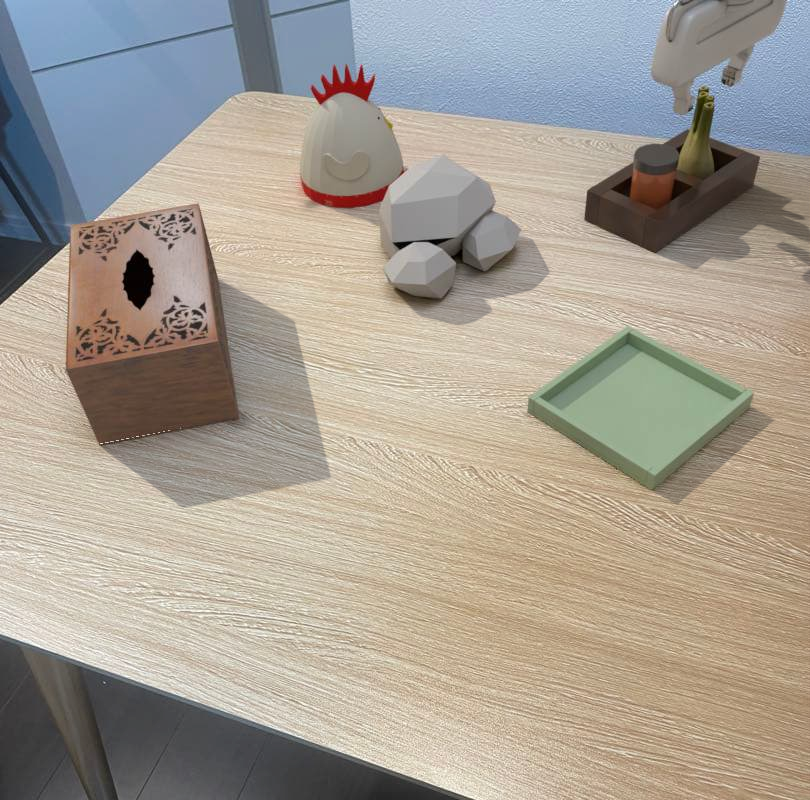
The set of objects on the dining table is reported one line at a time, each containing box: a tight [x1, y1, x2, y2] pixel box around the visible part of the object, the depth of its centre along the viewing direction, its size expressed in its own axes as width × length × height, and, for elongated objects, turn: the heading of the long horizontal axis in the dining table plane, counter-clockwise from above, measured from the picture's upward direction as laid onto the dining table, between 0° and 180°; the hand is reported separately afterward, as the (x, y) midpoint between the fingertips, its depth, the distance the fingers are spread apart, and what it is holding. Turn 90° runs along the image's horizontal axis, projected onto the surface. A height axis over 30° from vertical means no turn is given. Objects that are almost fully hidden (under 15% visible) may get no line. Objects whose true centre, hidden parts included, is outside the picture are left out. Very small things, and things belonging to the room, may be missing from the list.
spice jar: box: [629, 143, 680, 210], centre depth 111 cm, size 5×5×8 cm
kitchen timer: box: [299, 63, 405, 209], centre depth 118 cm, size 14×14×15 cm
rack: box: [583, 128, 761, 254], centre depth 114 cm, size 11×20×4 cm, turn 133°
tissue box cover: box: [65, 202, 240, 446], centre depth 99 cm, size 26×14×10 cm, turn 12°
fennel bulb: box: [677, 85, 715, 180], centre depth 113 cm, size 6×5×12 cm
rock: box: [378, 153, 522, 300], centre depth 108 cm, size 18×20×10 cm
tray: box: [527, 325, 755, 491], centre depth 91 cm, size 16×16×2 cm
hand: (706, 97), depth 108 cm, fingers open, 8 cm apart
